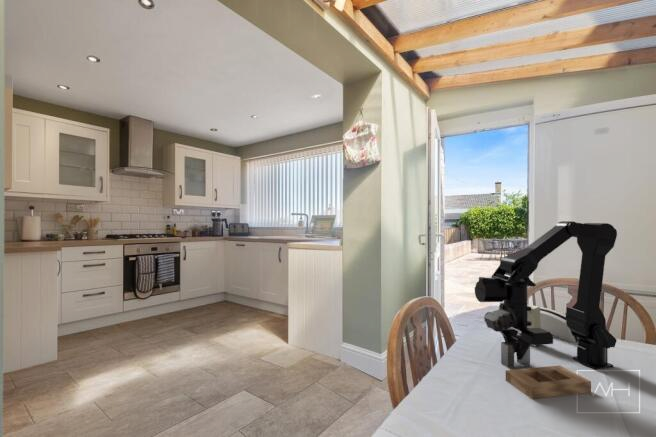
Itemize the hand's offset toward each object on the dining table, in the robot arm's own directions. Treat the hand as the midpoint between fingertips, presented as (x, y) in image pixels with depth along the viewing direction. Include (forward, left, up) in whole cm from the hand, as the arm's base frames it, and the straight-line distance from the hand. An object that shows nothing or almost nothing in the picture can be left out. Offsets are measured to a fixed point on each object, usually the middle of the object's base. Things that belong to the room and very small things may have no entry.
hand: (515, 357), depth 85 cm
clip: (0, 0, -2) cm, 2 cm away
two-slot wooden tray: (+1, +11, -2) cm, 11 cm away
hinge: (-30, -19, -2) cm, 36 cm away
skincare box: (-16, -13, -2) cm, 21 cm away
